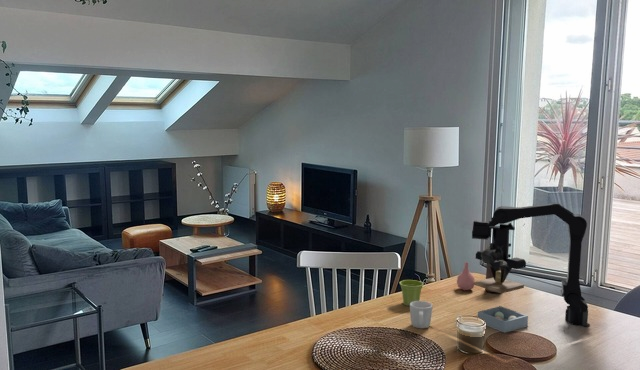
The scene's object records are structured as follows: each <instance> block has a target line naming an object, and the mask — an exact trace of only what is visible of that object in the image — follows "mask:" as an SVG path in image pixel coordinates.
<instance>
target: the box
mask: <svg viewBox="0 0 640 370" xmlns="http://www.w3.org/2000/svg"><path fill="white" fill-rule="evenodd" d="M496 312H502V313H503V314H504V319H503V320H501V319H498V318H496V317H495V313H496ZM510 316H515V317H517V318H514V319H510V320H508V318H509V317H510ZM478 317H479V318H481V319H483V320H485V322H486V325H485V326H487V327H490V328H492V329H494V330H497V331H500V332H502V333H509V332H511V331H516V330H519V329H522V328H525V327H528V321H529V315H527V314H524V313H521V312H518V311H516V310H514V309H513V310H512V309H510V308H508V307H504V306H502V305H499V306H495V307H491V308H487V309H484V310H479V311H477V318H478Z"/></svg>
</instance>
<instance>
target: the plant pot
mask: <svg viewBox="0 0 640 370" xmlns="http://www.w3.org/2000/svg"><path fill="white" fill-rule="evenodd" d="M399 285H400V288H401V294H402V302H403V305H405V306H407V307H408V306H410V303H411V302H414V301H421V300H420V298H421V294H422V289H423V286H424V282H423V281H419V280H415V279H414V280H413V279H403V280H401V281H399Z"/></svg>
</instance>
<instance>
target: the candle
mask: <svg viewBox="0 0 640 370" xmlns="http://www.w3.org/2000/svg"><path fill="white" fill-rule="evenodd" d="M489 247H490V244H489V245H488V246H487V249H489ZM502 260H503V259H502ZM501 265H503V262H500V266H501ZM499 271H501V268H499ZM489 278H493V274H492V271H491V268H490V266H489V265H488V264H486V271H485V279H489ZM484 291H487V292H490V293H496V292H495V291H492V290H489V289H486V288H484Z"/></svg>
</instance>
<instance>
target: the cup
mask: <svg viewBox="0 0 640 370" xmlns="http://www.w3.org/2000/svg"><path fill="white" fill-rule="evenodd" d="M409 311H410V313H409V315H410V323H411V325H412V327H414V328H417V329H427V328H429V327H430V325H431V322H432V315H433V314H432V313H433V304H432V302H429V301H425V300H424V301H423V300H419V301H414V302H411V303H410V305H409Z"/></svg>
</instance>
